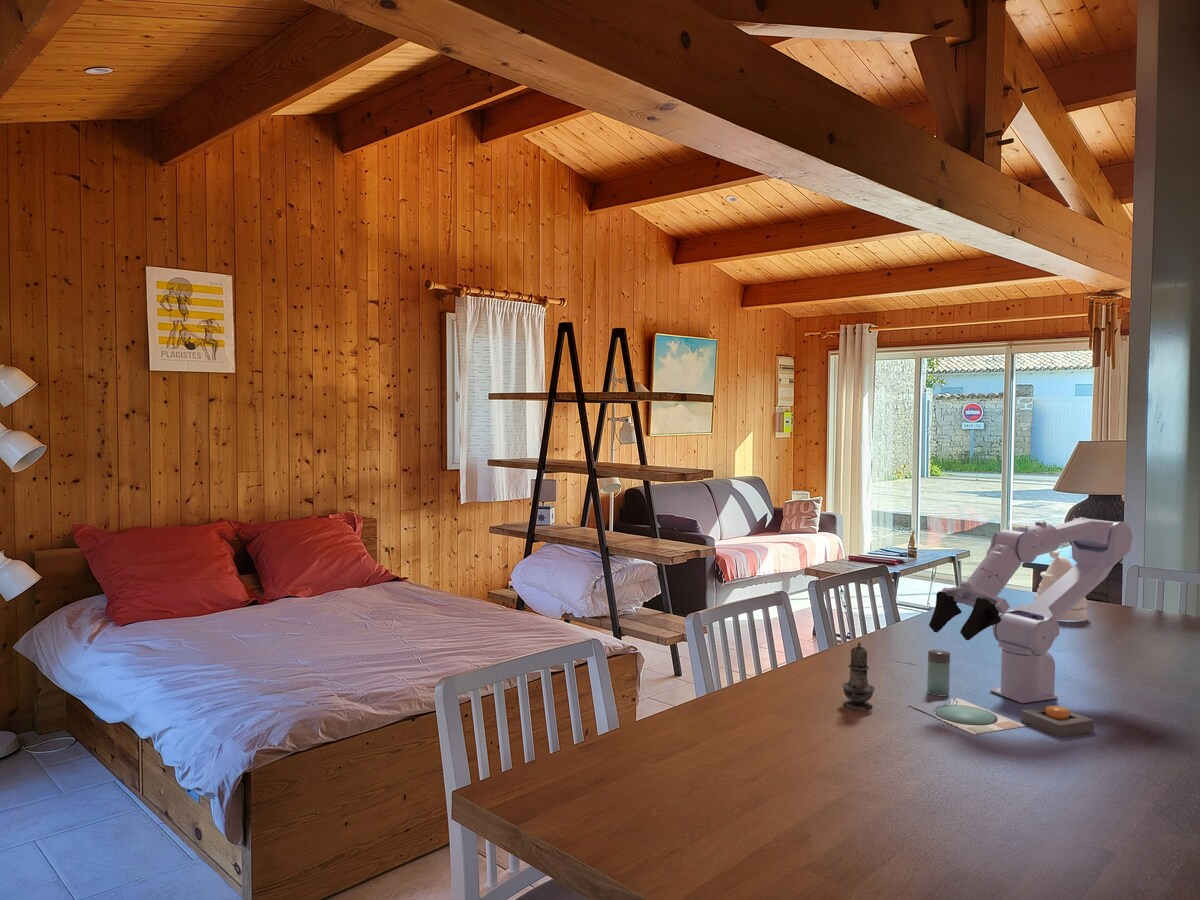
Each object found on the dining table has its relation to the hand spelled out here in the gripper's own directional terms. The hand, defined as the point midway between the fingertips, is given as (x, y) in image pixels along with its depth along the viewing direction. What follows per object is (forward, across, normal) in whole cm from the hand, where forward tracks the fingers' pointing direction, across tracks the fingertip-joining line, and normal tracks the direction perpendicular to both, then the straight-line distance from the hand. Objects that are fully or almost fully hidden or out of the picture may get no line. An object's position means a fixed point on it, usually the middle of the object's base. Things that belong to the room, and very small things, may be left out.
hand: (948, 632), depth 160 cm
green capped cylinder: (+5, -9, +14) cm, 17 cm away
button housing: (+1, +13, +19) cm, 23 cm away
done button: (0, +13, +18) cm, 22 cm away
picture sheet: (+9, +3, +11) cm, 15 cm away
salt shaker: (+20, -8, +1) cm, 22 cm away
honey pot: (-57, -48, +68) cm, 101 cm away
